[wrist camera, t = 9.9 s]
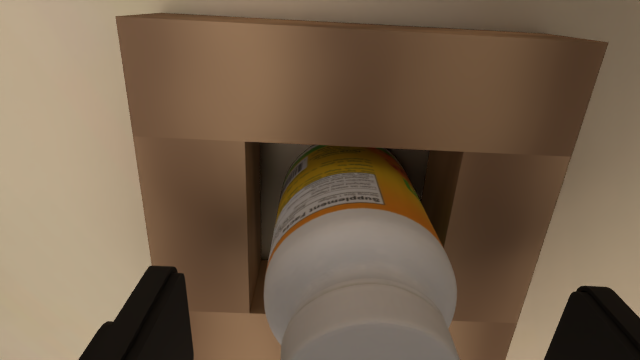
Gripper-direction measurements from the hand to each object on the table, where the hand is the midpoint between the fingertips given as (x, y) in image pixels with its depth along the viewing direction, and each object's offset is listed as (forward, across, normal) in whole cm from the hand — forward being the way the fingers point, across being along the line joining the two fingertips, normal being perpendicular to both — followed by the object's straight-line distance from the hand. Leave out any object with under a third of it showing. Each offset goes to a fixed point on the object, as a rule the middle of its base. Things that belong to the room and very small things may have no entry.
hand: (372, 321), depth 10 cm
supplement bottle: (+8, 0, +1) cm, 8 cm away
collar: (+8, 0, +1) cm, 8 cm away
